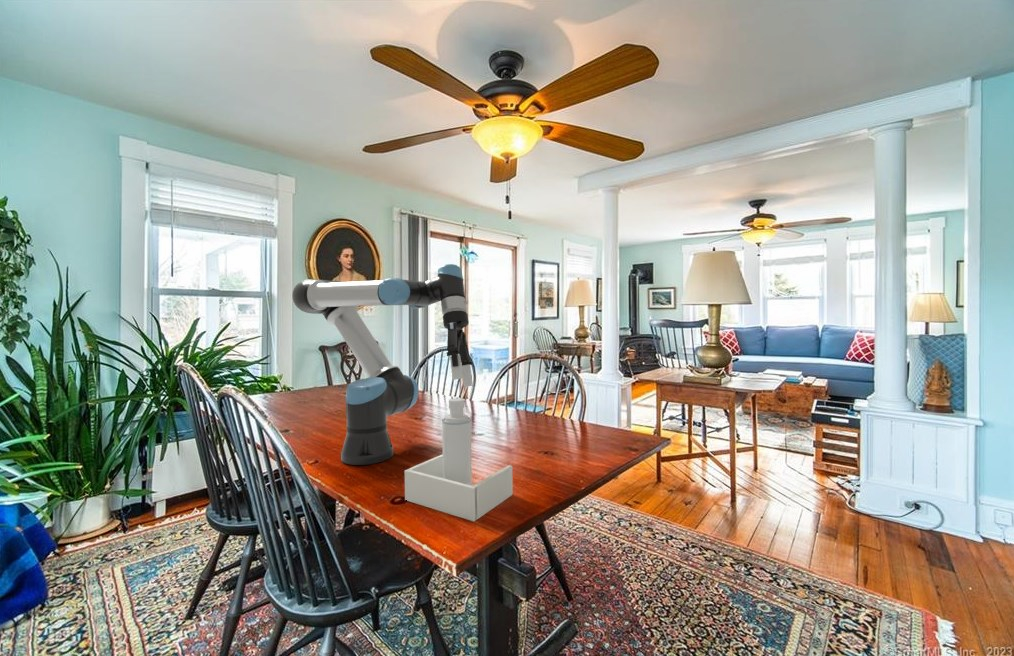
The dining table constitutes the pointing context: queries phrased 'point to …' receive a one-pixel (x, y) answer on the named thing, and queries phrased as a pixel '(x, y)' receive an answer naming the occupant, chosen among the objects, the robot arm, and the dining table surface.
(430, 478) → the storage bay
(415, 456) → the dining table surface
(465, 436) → the white bottle
